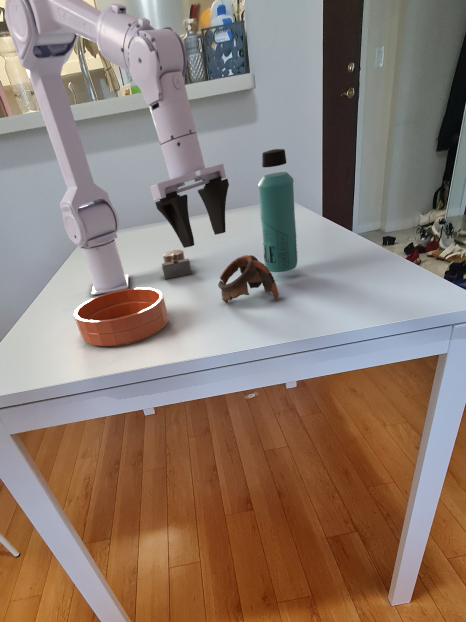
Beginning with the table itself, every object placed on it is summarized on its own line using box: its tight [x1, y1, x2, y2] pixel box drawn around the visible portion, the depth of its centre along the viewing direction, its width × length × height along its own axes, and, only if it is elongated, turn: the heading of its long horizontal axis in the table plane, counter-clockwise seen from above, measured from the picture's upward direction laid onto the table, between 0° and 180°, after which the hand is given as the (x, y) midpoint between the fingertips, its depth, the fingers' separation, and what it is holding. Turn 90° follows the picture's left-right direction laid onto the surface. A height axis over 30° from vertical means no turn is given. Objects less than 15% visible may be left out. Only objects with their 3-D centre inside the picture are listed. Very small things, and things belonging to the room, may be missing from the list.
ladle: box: [162, 249, 186, 263], centre depth 99 cm, size 19×5×6 cm, turn 10°
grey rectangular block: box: [161, 258, 192, 280], centre depth 99 cm, size 2×6×3 cm, turn 100°
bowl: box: [73, 287, 169, 347], centre depth 78 cm, size 15×15×4 cm
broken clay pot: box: [217, 254, 280, 304], centre depth 81 cm, size 12×10×8 cm
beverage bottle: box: [257, 148, 299, 273], centre depth 83 cm, size 6×7×20 cm
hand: (205, 239), depth 76 cm, fingers open, 7 cm apart
